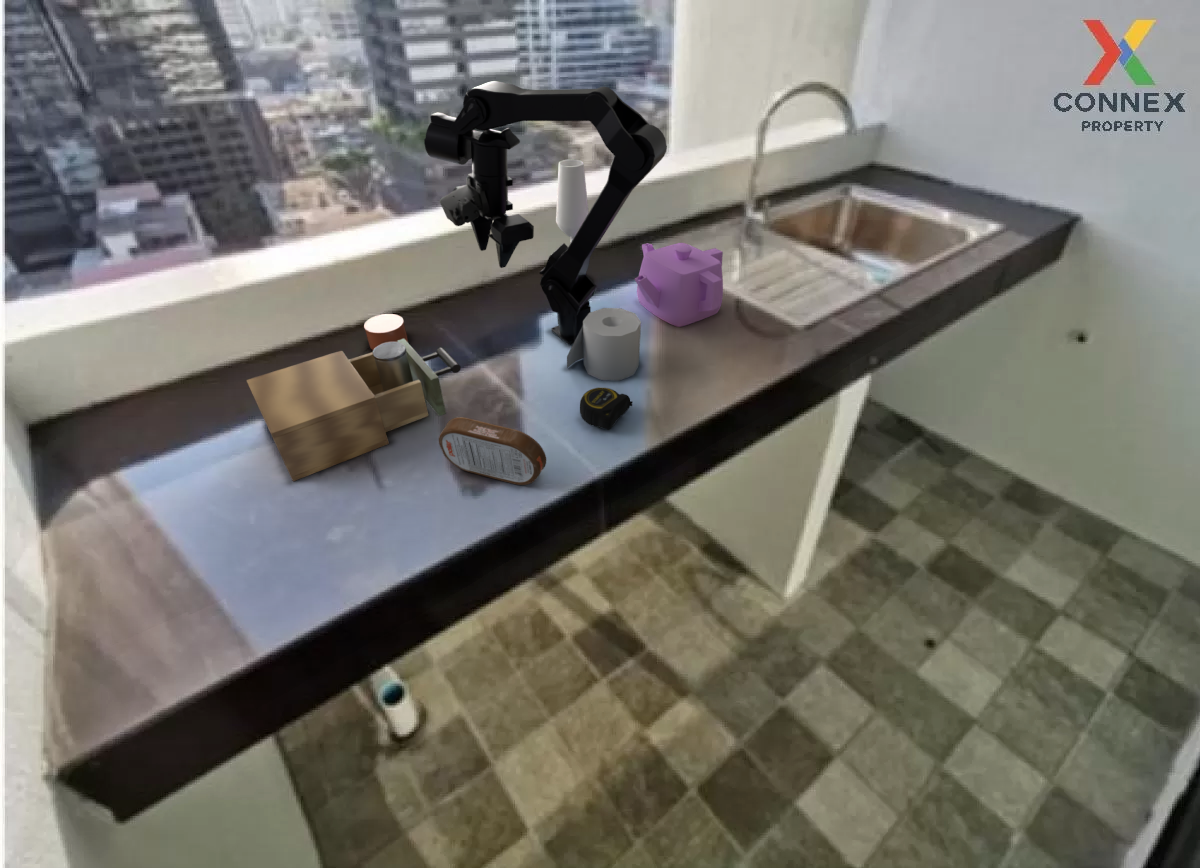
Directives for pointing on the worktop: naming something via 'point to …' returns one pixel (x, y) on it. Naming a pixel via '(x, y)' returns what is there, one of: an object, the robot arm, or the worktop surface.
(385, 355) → the cylinder
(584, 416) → the tape measure
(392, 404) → the drawer
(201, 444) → the worktop surface
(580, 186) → the champagne flute
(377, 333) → the stand
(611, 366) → the toilet tissue
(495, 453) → the tin
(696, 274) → the teakettle
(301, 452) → the cabinet
